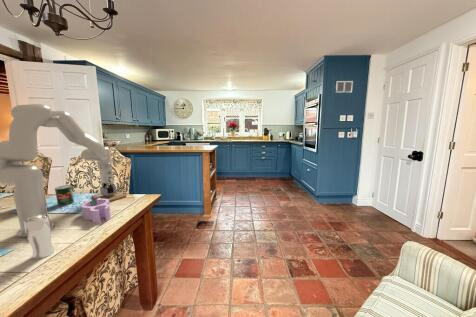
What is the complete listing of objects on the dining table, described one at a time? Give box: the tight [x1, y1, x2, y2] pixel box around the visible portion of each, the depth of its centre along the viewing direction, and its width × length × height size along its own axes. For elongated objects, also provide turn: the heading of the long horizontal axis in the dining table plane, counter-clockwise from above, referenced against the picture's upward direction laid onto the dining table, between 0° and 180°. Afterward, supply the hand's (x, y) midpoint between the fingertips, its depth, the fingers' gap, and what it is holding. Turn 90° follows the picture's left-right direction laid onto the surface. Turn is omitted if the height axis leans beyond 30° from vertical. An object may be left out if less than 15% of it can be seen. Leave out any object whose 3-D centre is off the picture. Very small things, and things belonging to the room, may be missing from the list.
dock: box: [91, 186, 127, 203], centre depth 135 cm, size 18×14×8 cm
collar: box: [99, 184, 118, 196], centre depth 135 cm, size 7×7×5 cm
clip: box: [80, 198, 112, 224], centre depth 108 cm, size 20×12×7 cm, turn 47°
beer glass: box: [24, 214, 55, 260], centre depth 76 cm, size 7×7×15 cm
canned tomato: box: [54, 184, 75, 207], centre depth 126 cm, size 8×8×11 cm
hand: (108, 191), depth 135 cm, fingers closed on collar, 6 cm apart
